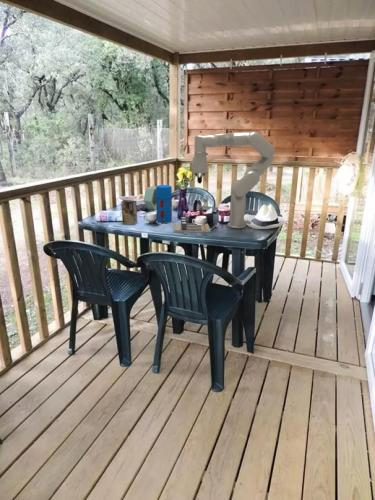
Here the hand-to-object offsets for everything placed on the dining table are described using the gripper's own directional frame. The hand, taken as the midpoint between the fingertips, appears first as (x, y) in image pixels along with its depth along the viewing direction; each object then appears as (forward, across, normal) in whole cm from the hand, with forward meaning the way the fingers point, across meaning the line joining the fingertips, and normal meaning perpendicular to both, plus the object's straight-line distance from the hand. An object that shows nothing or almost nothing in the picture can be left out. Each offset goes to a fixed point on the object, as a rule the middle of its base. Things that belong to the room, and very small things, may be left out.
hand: (199, 183), depth 236 cm
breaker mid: (+27, +11, +10) cm, 31 cm away
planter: (+29, +32, -48) cm, 64 cm away
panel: (+29, +6, +10) cm, 31 cm away
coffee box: (+29, +48, -5) cm, 56 cm away
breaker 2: (+27, +11, +16) cm, 33 cm away
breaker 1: (+27, +11, +4) cm, 29 cm away
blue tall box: (+29, +24, -10) cm, 39 cm away
